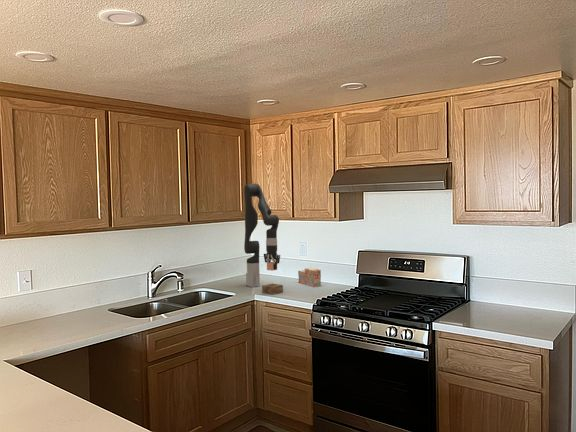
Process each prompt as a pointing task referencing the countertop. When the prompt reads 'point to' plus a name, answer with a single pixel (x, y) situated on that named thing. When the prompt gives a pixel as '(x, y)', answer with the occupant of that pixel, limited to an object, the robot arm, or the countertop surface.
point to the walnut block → (272, 289)
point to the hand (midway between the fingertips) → (272, 269)
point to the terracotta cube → (270, 266)
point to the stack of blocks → (310, 277)
